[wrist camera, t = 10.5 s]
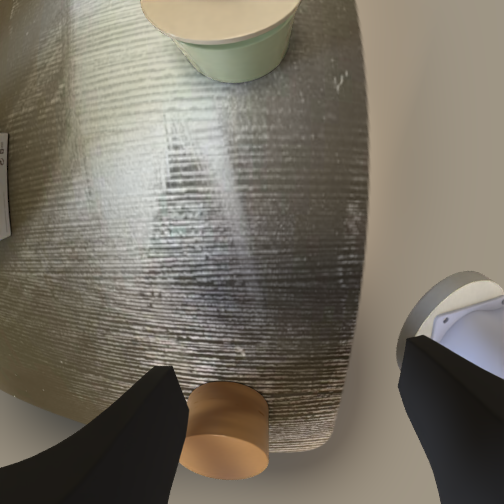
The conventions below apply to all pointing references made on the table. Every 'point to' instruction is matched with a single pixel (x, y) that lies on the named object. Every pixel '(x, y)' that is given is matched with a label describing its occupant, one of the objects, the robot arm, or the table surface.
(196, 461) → the stand
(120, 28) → the table surface
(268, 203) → the table surface
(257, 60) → the jar
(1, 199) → the white product box
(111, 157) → the table surface
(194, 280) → the table surface
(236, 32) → the lid
